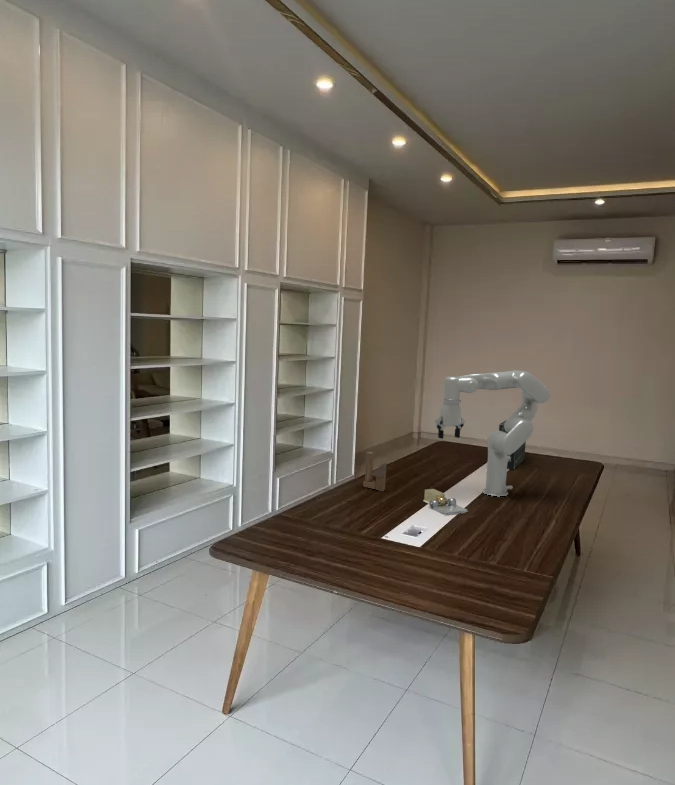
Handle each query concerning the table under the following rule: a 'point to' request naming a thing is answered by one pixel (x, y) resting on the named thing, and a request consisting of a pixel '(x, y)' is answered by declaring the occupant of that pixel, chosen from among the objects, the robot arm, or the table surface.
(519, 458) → the router box
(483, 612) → the table surface
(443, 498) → the brass knob plate
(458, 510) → the hinge base
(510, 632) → the table surface
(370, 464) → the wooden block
